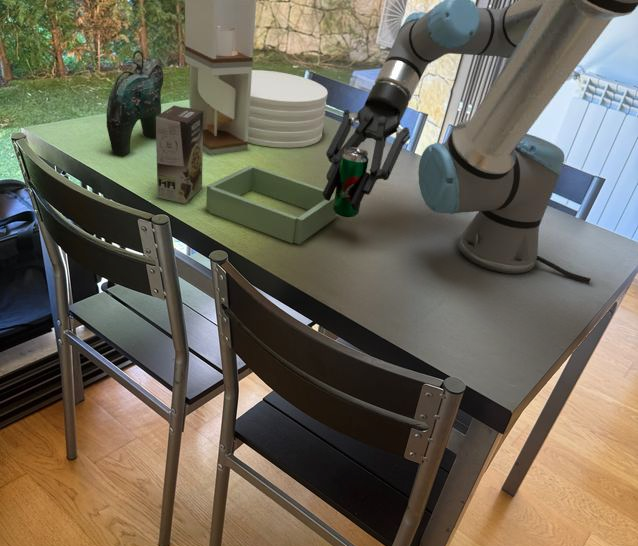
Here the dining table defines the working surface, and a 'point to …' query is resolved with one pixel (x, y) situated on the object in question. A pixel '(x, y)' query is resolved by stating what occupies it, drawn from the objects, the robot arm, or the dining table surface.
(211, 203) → the bin
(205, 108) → the white tower
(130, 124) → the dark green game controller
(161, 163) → the coffee box
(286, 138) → the plate stack
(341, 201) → the soda can
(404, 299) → the dining table surface
